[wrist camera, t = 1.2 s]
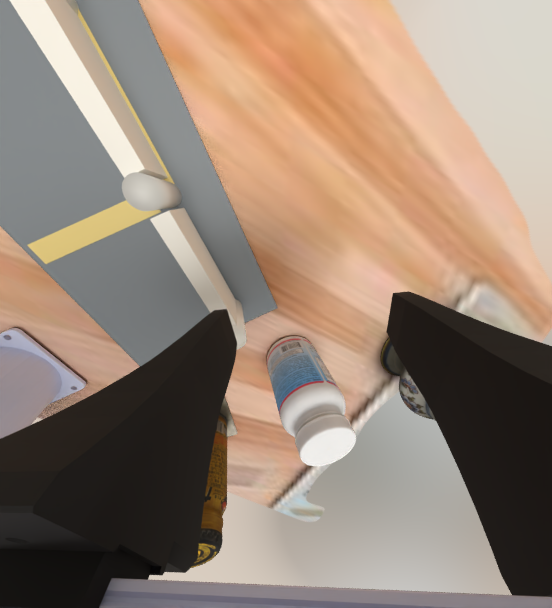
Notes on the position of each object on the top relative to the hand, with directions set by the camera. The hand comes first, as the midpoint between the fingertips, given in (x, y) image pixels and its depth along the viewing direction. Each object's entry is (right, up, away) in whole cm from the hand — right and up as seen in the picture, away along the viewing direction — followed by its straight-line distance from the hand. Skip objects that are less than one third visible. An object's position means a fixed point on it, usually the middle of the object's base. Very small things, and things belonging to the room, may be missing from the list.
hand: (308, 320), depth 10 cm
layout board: (-13, +7, +8) cm, 16 cm away
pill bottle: (0, -5, +17) cm, 18 cm away
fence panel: (-7, +4, +9) cm, 13 cm away
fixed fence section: (-12, +13, +4) cm, 18 cm away
